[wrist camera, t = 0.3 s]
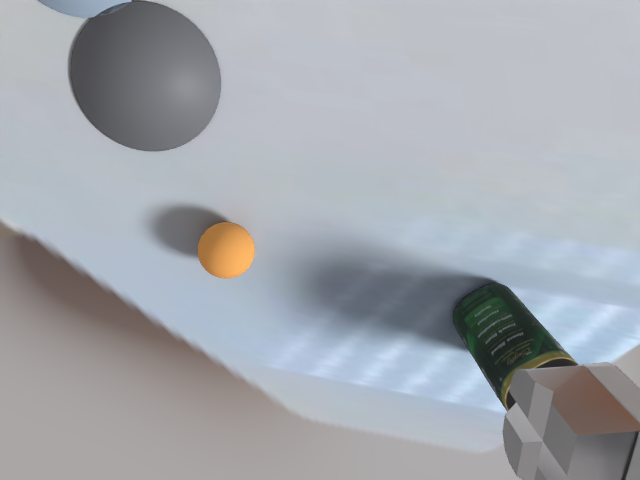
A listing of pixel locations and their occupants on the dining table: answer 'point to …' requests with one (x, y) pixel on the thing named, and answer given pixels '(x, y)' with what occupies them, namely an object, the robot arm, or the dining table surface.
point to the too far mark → (84, 6)
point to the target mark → (145, 76)
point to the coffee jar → (505, 338)
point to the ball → (226, 250)
